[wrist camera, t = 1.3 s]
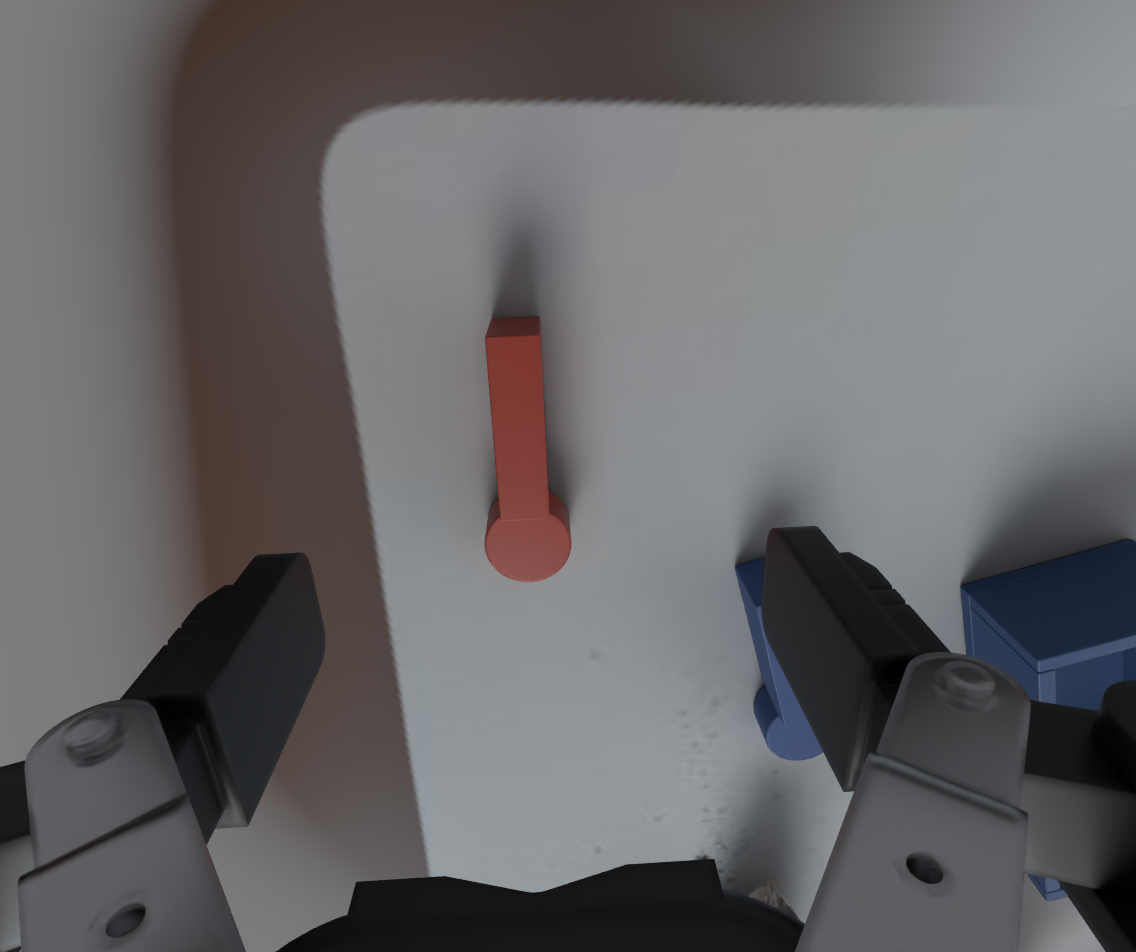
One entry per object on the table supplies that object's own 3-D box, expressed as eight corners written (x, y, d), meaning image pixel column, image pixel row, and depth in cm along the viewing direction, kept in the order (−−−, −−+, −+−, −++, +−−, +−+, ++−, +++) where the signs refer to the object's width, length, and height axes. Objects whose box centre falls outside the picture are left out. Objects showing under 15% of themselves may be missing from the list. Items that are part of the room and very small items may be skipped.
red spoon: (469, 319, 22) (460, 337, 19) (561, 315, 22) (564, 333, 19) (491, 559, 26) (486, 600, 23) (570, 554, 26) (574, 596, 23)
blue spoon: (716, 570, 26) (736, 612, 24) (792, 548, 26) (820, 588, 23) (760, 736, 30) (781, 789, 27) (827, 718, 29) (854, 769, 27)
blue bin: (959, 585, 27) (1037, 660, 23) (1131, 537, 26) (1243, 605, 22) (979, 808, 32) (1046, 902, 28) (1122, 772, 32) (1213, 862, 27)
